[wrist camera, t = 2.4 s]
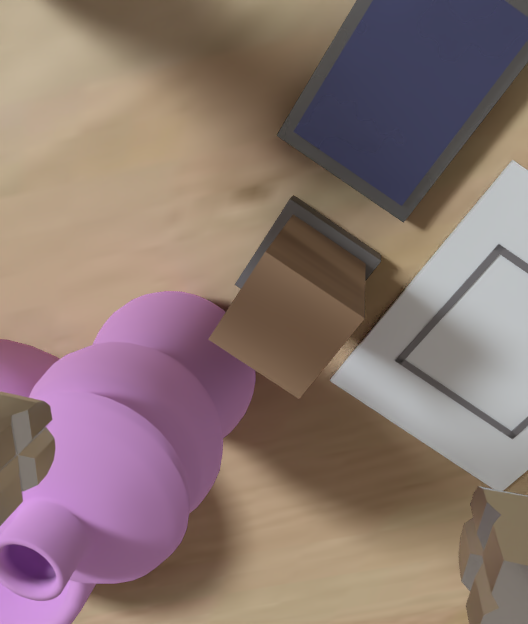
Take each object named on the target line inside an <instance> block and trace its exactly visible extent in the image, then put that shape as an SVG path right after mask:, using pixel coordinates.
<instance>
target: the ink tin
mask: <svg viewBox="0 0 528 624" xmlns="http://www.w3.org/2000/svg"><path fill="white" fill-rule="evenodd" d="M527 62H528V0H357V1H356V2H355V4H354V6H353V7H352V9H351V11H350V12H349V14H348V16H347V18H346V19H345V21H344V23H343V24H342V26H341V28H340V29H339V31H338V33H337V34H336V36H335V38H334V40H333V41H332V43H331V45H330V46H329V48H328V50H327V51H326V53H325V55H324V56H323V58H322V60H321V61H320V63H319V65H318V67H317V68H316V70H315V72H314V73H313V75H312V77H311V78H310V80H309V82H308V83H307V85H306V87H305V88H304V90H303V92H302V94H301V95H300V97H299V99H298V100H297V102H296V104H295V105H294V107H293V109H292V110H291V112H290V114H289V116H288V117H287V119H286V121H285V122H284V124H283V126H282V127H281V129H280V131H279V132H278V134H277V136H278V137H279V138H281V139H282V140H284V141H285V142H287V143H288V144H290V145H291V146H293V147H294V148H295V149H297V150H298V151H300V152H301V153H303V154H304V155H306V156H307V157H309V158H310V159H312V160H313V161H314V162H316V163H317V164H319V165H320V166H322V167H323V168H325V169H326V170H328V171H329V172H331V173H332V174H333V175H335V176H336V177H338V178H339V179H341V180H342V181H344V182H345V183H347V184H348V185H349V186H351V187H352V188H354V189H355V190H357V191H358V192H360V193H361V194H363V195H364V196H366V197H367V198H368V199H370V200H371V201H373V202H374V203H376V204H377V205H379V206H380V207H382V208H383V209H385V210H386V211H387V212H389V213H390V214H392V215H393V216H395V217H396V218H398V219H399V220H401V221H402V222H404V221H405V220H406V219H407V218H408V216H409V215H410V214H411V212H412V211H413V210H414V208H415V207H416V206H417V205H418V203H419V202H420V201H421V199H422V198H423V197H424V196H425V194H426V193H427V192H428V190H429V189H430V188H431V187H432V185H433V184H434V183H435V181H436V180H437V179H438V177H439V176H440V175H441V174H442V172H443V171H444V170H445V168H446V167H447V166H448V165H449V163H450V162H451V161H452V159H453V158H454V157H455V155H456V154H457V153H458V152H459V150H460V149H461V148H462V146H463V145H464V144H465V143H466V141H467V140H468V139H469V137H470V136H471V135H472V133H473V132H474V131H475V130H476V128H477V127H478V126H479V124H480V123H481V122H482V121H483V119H484V118H485V117H486V115H487V114H488V113H489V112H490V110H491V109H492V108H493V106H494V105H495V104H496V102H497V101H498V100H499V99H500V97H501V96H502V95H503V93H504V92H505V91H506V90H507V88H508V87H509V86H510V84H511V83H512V82H513V80H514V79H515V78H516V77H517V75H518V74H519V73H520V71H521V70H522V69H523V68H524V66H525V65H526V64H527Z"/></svg>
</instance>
